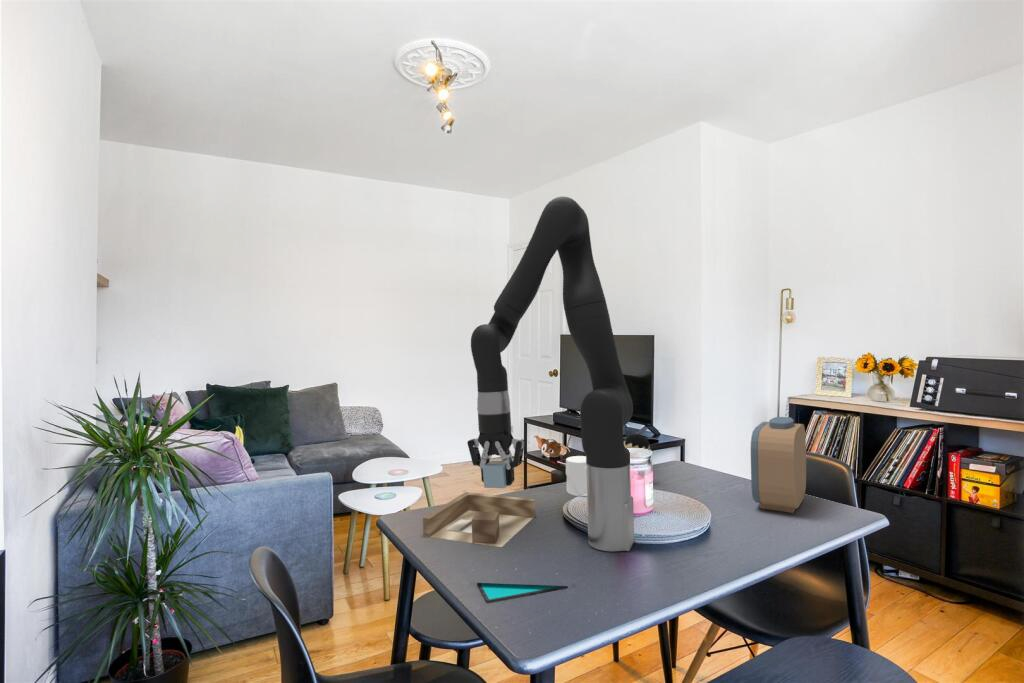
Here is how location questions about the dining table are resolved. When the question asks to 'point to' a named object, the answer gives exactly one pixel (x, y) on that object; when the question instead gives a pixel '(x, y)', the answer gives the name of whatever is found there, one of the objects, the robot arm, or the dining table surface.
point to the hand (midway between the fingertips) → (498, 483)
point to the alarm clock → (778, 464)
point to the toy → (637, 442)
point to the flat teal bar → (512, 590)
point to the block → (494, 474)
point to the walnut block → (485, 527)
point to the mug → (576, 475)
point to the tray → (459, 512)
